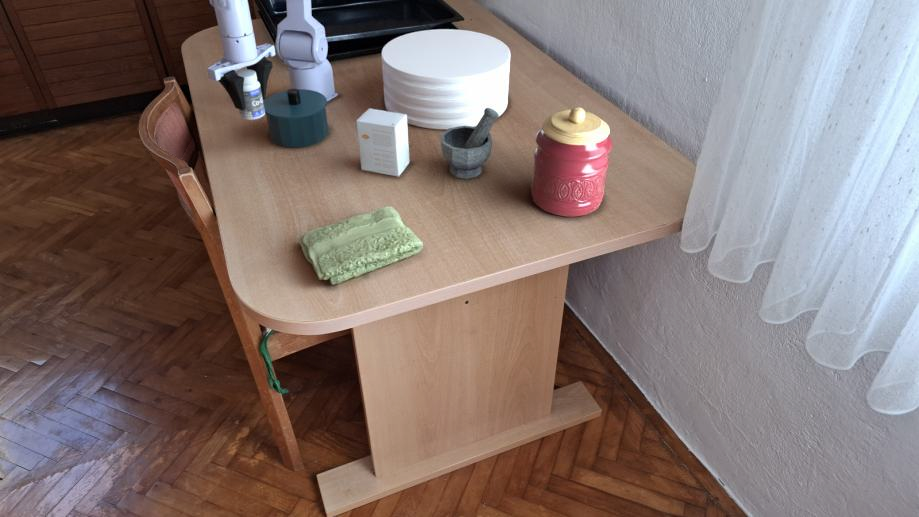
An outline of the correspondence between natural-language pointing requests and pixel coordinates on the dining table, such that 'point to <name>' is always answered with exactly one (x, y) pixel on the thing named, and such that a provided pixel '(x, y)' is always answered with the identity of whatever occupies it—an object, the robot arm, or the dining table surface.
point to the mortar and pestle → (468, 146)
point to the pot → (298, 130)
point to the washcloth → (359, 245)
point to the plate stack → (445, 77)
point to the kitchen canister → (571, 163)
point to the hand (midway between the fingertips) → (251, 103)
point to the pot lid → (295, 104)
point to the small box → (383, 142)
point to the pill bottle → (251, 96)
